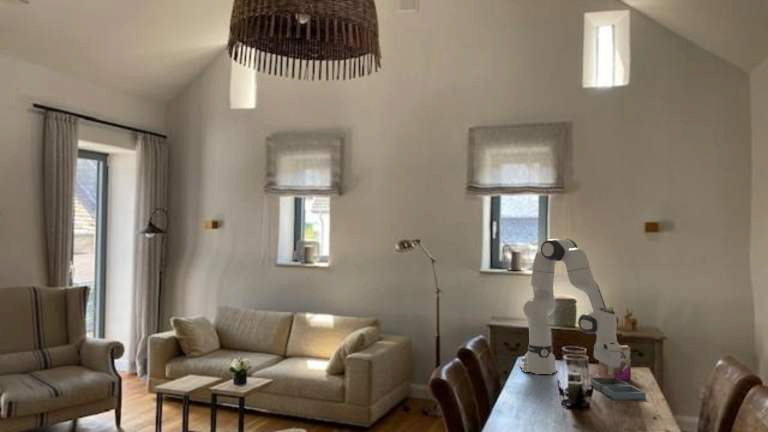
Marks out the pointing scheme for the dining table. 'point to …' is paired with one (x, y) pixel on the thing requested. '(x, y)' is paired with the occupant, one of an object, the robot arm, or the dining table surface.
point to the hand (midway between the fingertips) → (606, 372)
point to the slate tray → (624, 392)
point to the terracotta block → (605, 372)
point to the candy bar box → (624, 364)
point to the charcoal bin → (606, 382)
